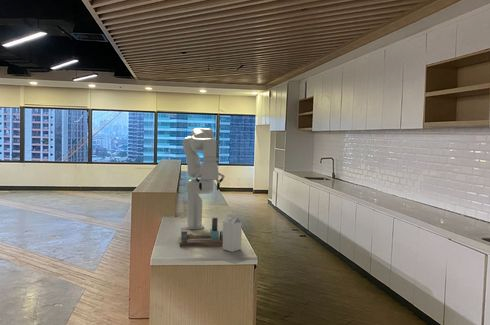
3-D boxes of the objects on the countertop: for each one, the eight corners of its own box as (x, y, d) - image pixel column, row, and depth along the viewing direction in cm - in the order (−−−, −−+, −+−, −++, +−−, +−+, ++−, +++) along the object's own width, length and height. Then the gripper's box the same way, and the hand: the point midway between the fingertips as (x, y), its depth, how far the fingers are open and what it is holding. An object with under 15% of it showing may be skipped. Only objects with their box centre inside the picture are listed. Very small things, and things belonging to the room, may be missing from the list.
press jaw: (210, 237, 252) (210, 217, 251) (217, 237, 253) (217, 217, 252) (211, 240, 245) (211, 219, 244) (218, 240, 246) (219, 219, 245)
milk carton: (231, 247, 242) (232, 212, 240) (241, 249, 237) (242, 214, 236) (222, 249, 236) (223, 214, 235) (232, 252, 232) (233, 216, 231)
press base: (179, 241, 252) (179, 227, 251) (222, 240, 256) (223, 226, 255) (179, 246, 240) (179, 231, 240) (225, 245, 244) (225, 231, 244)
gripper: (224, 160, 257) (223, 189, 257) (194, 159, 254) (193, 189, 254) (225, 160, 249) (225, 190, 250) (194, 160, 247) (194, 190, 247)
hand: (209, 190), depth 252 cm, fingers open, 9 cm apart
